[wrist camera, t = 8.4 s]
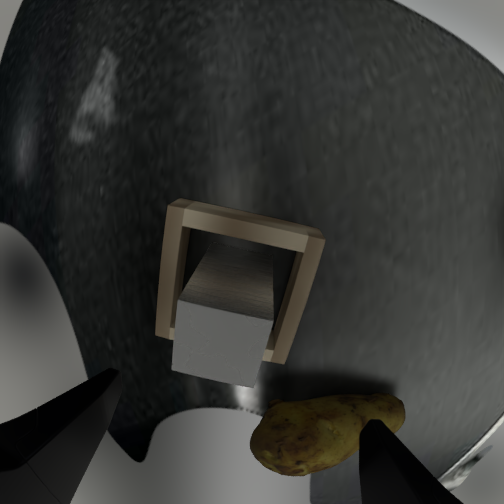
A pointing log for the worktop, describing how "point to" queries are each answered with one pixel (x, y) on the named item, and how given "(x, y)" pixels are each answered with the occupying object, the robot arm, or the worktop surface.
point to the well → (249, 228)
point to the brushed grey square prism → (225, 316)
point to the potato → (319, 430)
